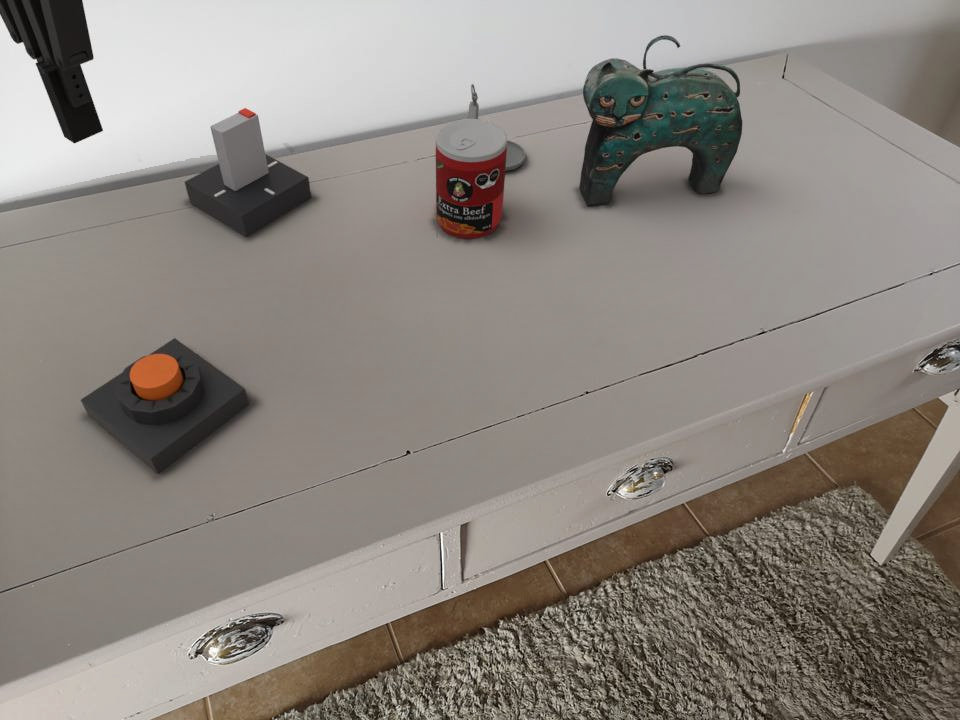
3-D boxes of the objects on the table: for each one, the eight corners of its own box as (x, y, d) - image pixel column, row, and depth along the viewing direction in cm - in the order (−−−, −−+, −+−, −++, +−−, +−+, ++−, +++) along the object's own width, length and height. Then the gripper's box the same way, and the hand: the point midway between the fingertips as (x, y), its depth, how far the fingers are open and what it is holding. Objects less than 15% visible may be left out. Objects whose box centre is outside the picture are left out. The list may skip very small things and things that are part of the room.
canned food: (426, 231, 90) (424, 148, 82) (450, 194, 95) (451, 111, 87) (489, 247, 88) (494, 163, 80) (509, 208, 93) (516, 125, 85)
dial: (235, 191, 89) (221, 130, 83) (223, 184, 89) (209, 124, 84) (269, 172, 91) (257, 112, 86) (257, 166, 92) (245, 106, 86)
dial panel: (190, 203, 92) (183, 180, 89) (255, 167, 97) (251, 145, 95) (246, 237, 88) (241, 214, 85) (311, 198, 93) (308, 175, 91)
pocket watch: (534, 165, 100) (542, 92, 93) (479, 183, 97) (482, 110, 89) (500, 135, 105) (504, 64, 97) (446, 151, 101) (446, 79, 94)
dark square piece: (88, 415, 70) (72, 386, 67) (180, 353, 75) (169, 324, 72) (157, 474, 66) (144, 445, 63) (249, 404, 71) (241, 375, 68)
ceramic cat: (575, 213, 93) (600, 51, 79) (561, 182, 98) (582, 23, 83) (729, 199, 96) (780, 41, 82) (708, 170, 101) (754, 14, 86)
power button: (125, 385, 68) (119, 372, 66) (164, 360, 70) (158, 346, 69) (154, 408, 66) (148, 395, 65) (192, 381, 68) (187, 368, 67)
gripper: (75, -191, 48) (169, 145, 65) (-35, -232, 53) (79, 90, 70) (-46, -169, 44) (88, 183, 61) (-153, -215, 49) (-1, 122, 66)
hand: (83, 133), depth 66 cm, fingers closed
